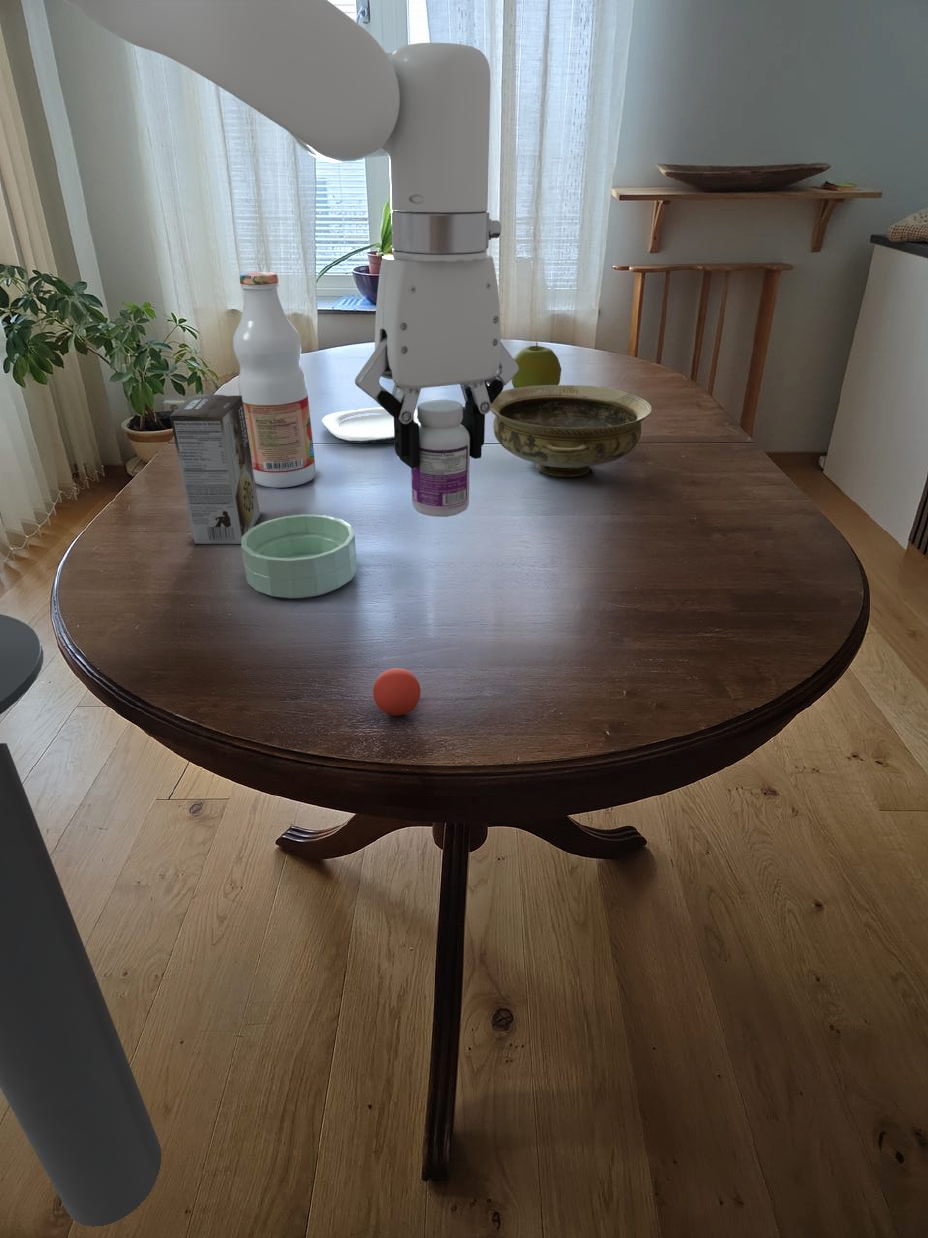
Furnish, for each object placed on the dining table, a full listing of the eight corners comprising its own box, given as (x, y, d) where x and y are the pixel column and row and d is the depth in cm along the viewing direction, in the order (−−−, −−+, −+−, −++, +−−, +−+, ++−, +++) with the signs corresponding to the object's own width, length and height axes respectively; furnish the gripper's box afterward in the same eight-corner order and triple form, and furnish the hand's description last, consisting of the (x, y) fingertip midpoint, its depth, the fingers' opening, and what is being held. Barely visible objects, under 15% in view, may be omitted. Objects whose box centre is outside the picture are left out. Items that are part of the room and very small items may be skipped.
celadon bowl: (308, 613, 82) (302, 570, 79) (224, 585, 88) (217, 544, 85) (378, 568, 91) (375, 528, 88) (298, 545, 96) (294, 507, 94)
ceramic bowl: (649, 509, 106) (658, 436, 101) (473, 500, 109) (473, 429, 104) (639, 441, 131) (646, 380, 126) (497, 435, 134) (498, 375, 129)
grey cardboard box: (213, 515, 105) (191, 393, 96) (261, 515, 105) (243, 393, 96) (192, 544, 97) (166, 414, 89) (244, 544, 97) (223, 414, 89)
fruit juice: (239, 478, 117) (206, 274, 103) (290, 462, 123) (266, 267, 109) (277, 494, 111) (249, 280, 97) (329, 476, 117) (309, 272, 103)
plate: (315, 423, 141) (314, 413, 140) (410, 411, 147) (409, 402, 146) (342, 452, 127) (341, 442, 126) (446, 438, 133) (446, 428, 132)
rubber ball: (403, 731, 65) (401, 691, 63) (365, 715, 67) (361, 677, 65) (430, 706, 68) (429, 667, 66) (392, 692, 70) (390, 654, 68)
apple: (501, 396, 157) (502, 338, 151) (544, 391, 160) (546, 334, 154) (523, 408, 149) (525, 348, 143) (568, 403, 152) (572, 344, 146)
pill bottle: (416, 495, 76) (415, 395, 71) (471, 498, 76) (473, 397, 71) (407, 517, 72) (404, 411, 67) (465, 520, 71) (466, 413, 66)
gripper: (510, 231, 68) (502, 436, 78) (320, 236, 62) (336, 459, 71) (556, 238, 63) (542, 458, 72) (352, 244, 56) (365, 486, 65)
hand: (440, 456), depth 71 cm, fingers closed on pill bottle, 5 cm apart
